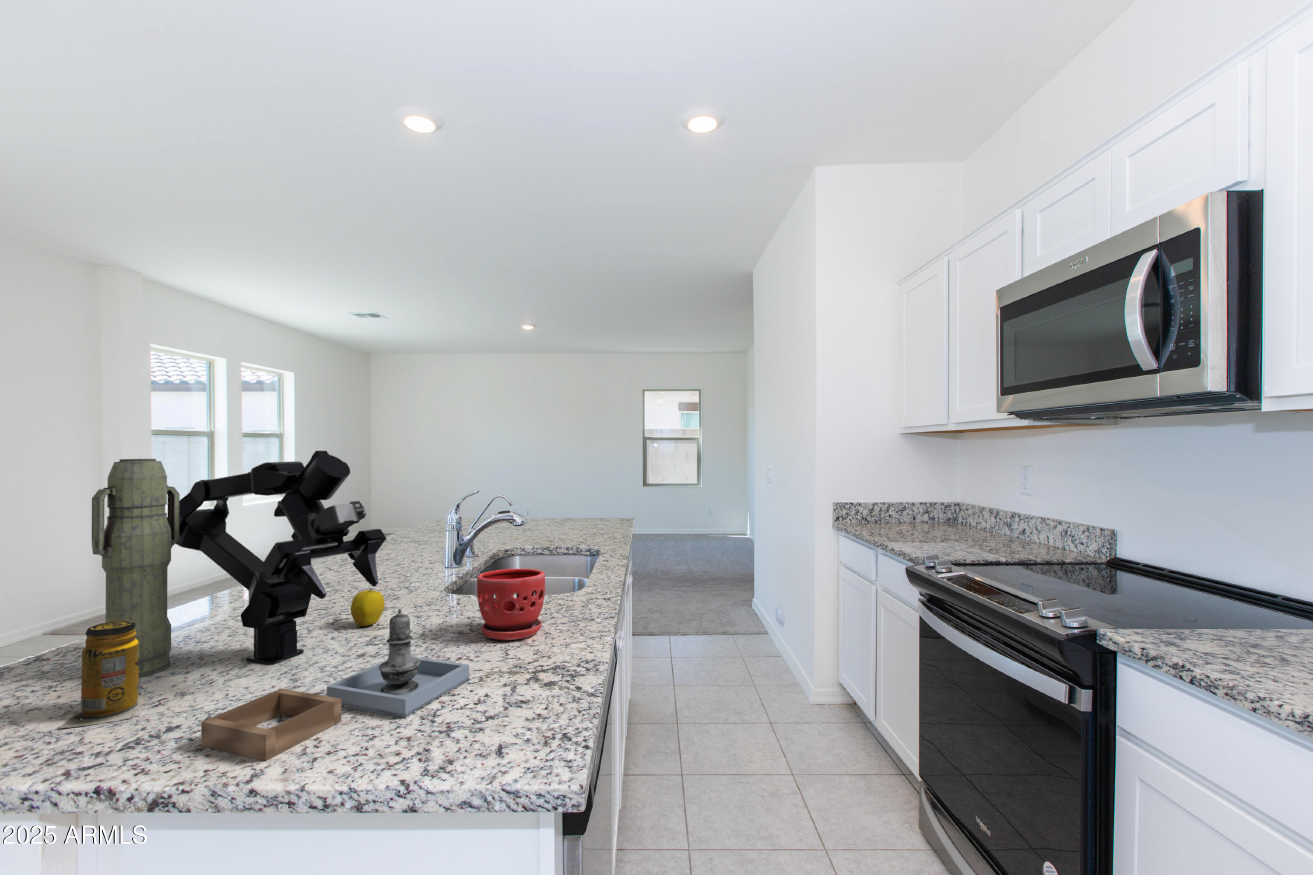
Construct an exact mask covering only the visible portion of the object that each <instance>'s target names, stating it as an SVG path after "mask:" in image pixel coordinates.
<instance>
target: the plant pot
mask: <svg viewBox="0 0 1313 875" xmlns="http://www.w3.org/2000/svg"><path fill="white" fill-rule="evenodd" d="M545 573H546V572H544V571H543V570H540V569H534V568H507V569H498V570H497V569H496V570H491V571H487V572H483V573H480V574H478V575H477V577H476V595H477V604H478V608H479V613H480V615H481V618H482V620H483V621H484V623H483V624H482V626H481V628H480V629H481V632H482V634H484V636H486V637H487V638H490V639H493V640H499V641H512V640H515V641H516V640H525V639H526V638H529V637H530V636H533V635H535V634H537V633H538V632H539V631H540V630H541V628H542V626H543V622H542V620H541V619H539V617H540V614H541V613H542V609H543V607H544V602H545V601H544V600H545V595H546V594H545V592H546V575H545ZM515 594H516V597H514V595H515Z"/></svg>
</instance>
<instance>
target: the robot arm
mask: <svg viewBox="0 0 1313 875" xmlns="http://www.w3.org/2000/svg"><path fill="white" fill-rule="evenodd" d="M350 474H351V468H350V466H349V465H348V463H347V462H345V461H343V460H342V459H340V458H339V457H337V456H334V455H331V454H329V452H328V451H327V450H315V451H314V453H313V454H312V455H311V458H310V459H309V461H308V462H307V464H306V465H305V466H304V463H303V461H302V462H301V461H297V460H296V461H273V462H272V461H270V462H268V461H267V462H263V463H261V464H258V465H257V466H256V465H255V466H254V467H252V468H251V470H250V471H248V472H245V473H240V474H236V475H235V474H234V475H230V476H223V477H218V478H212V479H201V480H199V481H196V482H194V483H193V485H192V486H191V489H190V491H189V492H188V493H187V494H185V495H184V496H183V497H182V498H181V499H180V500H179V540H178V541H177V542H176V543H175V544H174V545H177V546H179V547H180V548H184V549H189V550H193V551H199V552H202V554H203V555H205V556H206V557H207V558H208V559H210V560H211V561H212V562H213V563H215V564H216V565H217V566H218V567H219V568H221V569H222V570H223V571H224V572H226V573H227V574H228V575H229V576H230V577H231V578H233V579H234V580H235V581H236V582H238V583H239V584H240V585H241V586H243V587H244V588H245V589H246V590H247V591H248V605H247V606H246V607H245V608H244V610H242V612H241V613H240V620H241V624H242V627H244V628H249V629H253V654H251V655H248V656H245V659H244V660H245V661H249V662H255V663H261V664H267V665H273V664H276V663H278V662H282V661H285V660H288V659H290V658H292V657H295V656H297V655H301V654H304V652H305V650H304V649H303V648H298V630H297V620H296V619H299V618H300V619H301V618H305V617H306V616H307V613H308V610H309V605H310V602H311V599H312V595H313V596H315V597H316V598H319V599H321V600H324V599H325V598H326V596H327V592H326V589H325V587H324V585H323V583H322V581H321V580H320V578H319V576H318V575H317V572H316V571H315V569H314V567H313V565H312V560H313V559H322V558H323V559H324V558H328V557H333V556H340V555H345V554H347V555H348V557H349V559H350V560H352V561H353V562H352V566H353V567H354V568H355V570H356V571H357V572H358V573H359V574H360V575H361V576H362V577H363V578H364V579H365V581H366V582H367V583H368V584H369V585H371V586H372V587H376V586H378V584H379V578H378V569H377V562H376V560H377V559H376V554H377V552H378V551H379V550H380V548H381V547H382V546H383V544H384V543H385V541H386V540H387V536H386V535H385V533H384V532H383V530H382V528H369V529H364V530H358V532H357V534H356V535H355V536H354V537H353V539H352V540H346V541H344V537H347V536H348V535H349V533H350V531H351V530H349V528H351V527H352V526H354V525H355V524H360V522H361V521H362V520H363V519H365V518H366V516H367V512H366V508H365V506H364V505H363V503H361V501H360V500H356V501H349V503H344V504H334V505H330V506H328V507H325V506H324V504H323V502H322V501H326V500H330V499H332V498H333V497H334V495H335V494H336V493H337V491H338V490H339V489H340V487H341V486H342V485H343V484H344V482H345V481H346V480H347V478H348V476H350ZM247 495H256V496H257V495H258V496H279V495H283V497H282V498H281V500H278V502H277V506H276V507H275V509H274V512H273V516H274V518H275V517H277V518H278V517H286V519H287V520H288V523H289V524H290V526H291V528H292V529H293V533H292V534H291V535H290V537H291V540H286V541H277V542H275V544H274V545H273V546H272V547H271V550H270V551H269V552H268V554H267V556H266V557H265V559H264V560H262V559H261V558H260V557H258V555H256V554H255V553H254V552H252V551H251V550H250V549H249V548H247V547H246V546H244V545H243V544H242V543H241V542H239V541H238V540H237V539H236V538H234V537H233V536H232V535H231V534H229V533H228V532H227V521H226V520H227V518H228V517H229V514H230V510H229V505H228V501H229V499H230V498H235V497H241V496H242V497H243V496H247ZM214 501H216V503H215V505H214V506H213V508H204V509H199V508H200V507H202V505H203V504H204V502H214ZM167 518H168V516H167Z"/></svg>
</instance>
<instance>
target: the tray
mask: <svg viewBox="0 0 1313 875" xmlns="http://www.w3.org/2000/svg"><path fill="white" fill-rule="evenodd" d="M412 658H416V659H419V660H420V662H421V663H420V665H419V666H418V671H417V674H416V676H415V677H414V678H413V679H412V680H413V681H415V682H417V683H418V685H419V686H418V688H417V689H416V690H414V691H412V692H410V693H406V694H402V695H392V694H386V693H381V688H382V687H384V686H385V685H386V684H388V683H387V682H386V681H385V680H383V678H382V676H381V671H380V670H379V666H380V665H381V664H382V663H384V662H386V661H387V660H388V658H387V659H386V660H383V661H380V662H379V663H376V664H374V665H372V666H370V667H368V668H365V669H362V670H360V671H358V672H357V673H354V674H352V675H349V676H348V677H345V678H343V679H339V680H338V681H336V682H333V683H331V684H329V685H327V686H326V696H328V697H334V698H340V699H341V706H346V707H349V708H348V709H352V708H354V709H353V710H359V711H363V710H365V711H364V712H369V713H376V714H380V713H382V714H381V715H385V714H386V716H392V717H398V718H402V717H407V716H408V717H410V716H411V715H410V714H411V713H413V714H415V713H416V712H415V711H417V710H418V711H420V710H421V709H420V708H422V707H423V706H425V705H427V704H429V703H430V702H432V701H433V700H435V699H437V698H439V697H440V696H442V695H444V694H445V695H447V694H448V693H447V692H449V691H450V692H452V691H453V690H452V689H454V690H455V688H456V687H457V688H459V687H461V686H462V685H464V684H466V683H467V682H469V681H470V664H469V663H468V664H467V663H461V662H452V661H445V660H438V659H433V658H423V657H417V656H412ZM465 682H466V683H465ZM463 683H464V684H463ZM460 685H461V686H460ZM458 686H459V687H458ZM457 688H456V689H457ZM451 690H452V691H451ZM450 692H449V693H450ZM446 693H447V694H446ZM445 695H444V696H445ZM442 697H443V696H442ZM440 698H441V697H440ZM440 698H439V699H440ZM437 700H438V699H437ZM435 701H436V700H435ZM432 703H433V702H432ZM430 704H431V703H430ZM430 704H429V705H430ZM427 706H428V705H427ZM346 707H345V708H346ZM425 707H426V706H425ZM423 708H424V707H423ZM423 708H422V709H423ZM419 709H420V710H419ZM418 711H417V712H418ZM414 712H415V713H414ZM409 715H410V716H409ZM408 717H407V718H408Z"/></svg>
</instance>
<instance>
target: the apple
mask: <svg viewBox="0 0 1313 875" xmlns="http://www.w3.org/2000/svg"><path fill="white" fill-rule="evenodd" d="M385 605H386V603H385V598H384V595H383V594H382V593H381V592H380V591H377V590H372V587H370V588H369V589H368V590H367V589H366V590H361V591H358V592H357V593H356V594H355V595H354V596H353V598H352V601H351V604H350V615H351V617H352V619H353V622H354V623H355V624H356V625H357V626H358V627H365V626H366V627H367V626H370V625H374V624H376V623H378V622H379V621H380V619H381V616H382V614H383V612H384V610H385V609H384V608H385Z"/></svg>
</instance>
